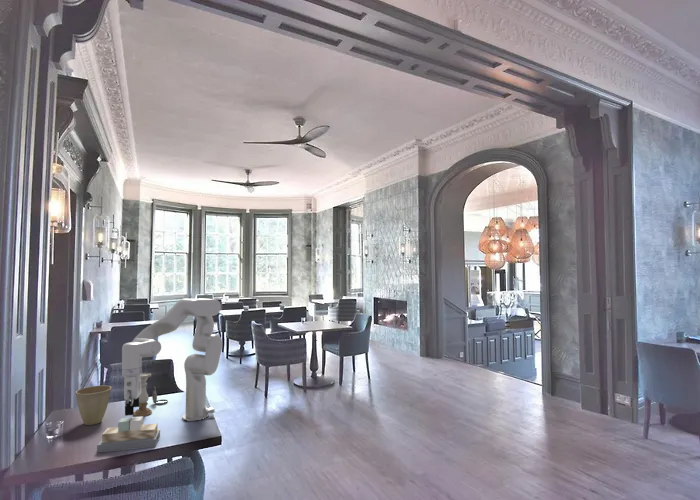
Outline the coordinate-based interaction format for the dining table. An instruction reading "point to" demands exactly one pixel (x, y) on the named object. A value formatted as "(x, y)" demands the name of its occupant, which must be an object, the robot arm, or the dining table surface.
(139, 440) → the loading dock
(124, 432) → the tan piece
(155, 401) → the pocket watch
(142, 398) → the candle holder
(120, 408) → the dining table surface
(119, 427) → the pale green block
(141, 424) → the block
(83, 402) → the plant pot
